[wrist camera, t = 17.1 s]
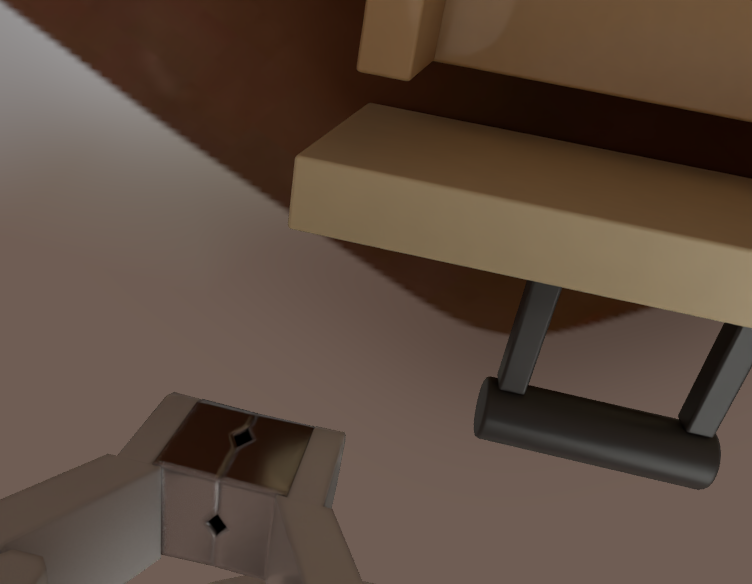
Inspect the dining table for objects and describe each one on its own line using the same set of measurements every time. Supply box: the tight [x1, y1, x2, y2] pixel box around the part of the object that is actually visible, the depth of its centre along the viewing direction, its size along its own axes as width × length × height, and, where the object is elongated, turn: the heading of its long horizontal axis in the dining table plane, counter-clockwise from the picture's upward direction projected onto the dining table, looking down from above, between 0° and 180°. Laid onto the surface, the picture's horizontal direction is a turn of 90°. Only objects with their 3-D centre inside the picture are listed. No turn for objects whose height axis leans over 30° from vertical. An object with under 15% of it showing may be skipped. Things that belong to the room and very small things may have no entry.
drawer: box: [288, 0, 752, 490], centre depth 10 cm, size 18×13×7 cm
